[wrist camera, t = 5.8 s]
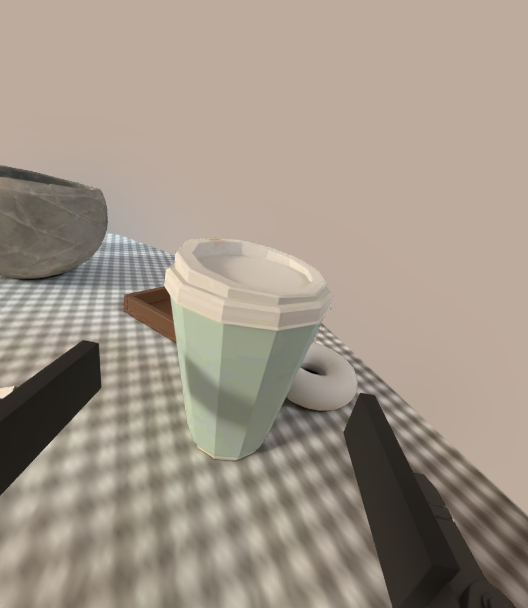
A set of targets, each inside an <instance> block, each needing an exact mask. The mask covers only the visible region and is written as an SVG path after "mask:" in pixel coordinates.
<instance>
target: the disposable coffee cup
mask: <svg viewBox="0 0 528 608" xmlns="http://www.w3.org/2000/svg"><path fill="white" fill-rule="evenodd" d="M163 285H164V287H165V288H166V290H167V291H168V293H169V294H170V297H171V305H172V312H173V320H174V327H175V335H176V342H177V350H178V357H179V365H180V372H181V380H182V387H183V395H184V402H185V410H186V418H187V425H188V427H189V430H190V432H191V435H192V437H193V440H194V442H195V444H196V445H197V447H198V448H199V449H200V450H202V451H203V452H205V453H206V454H208V455H209V456H211V457H212V458H214V459H219V460H232V461H237V460H239V459H241V458H243V457H245V456H248V455H250V454H252V453H254V452H255V451H256V450H257V449H259V448H260V446H261V444H262V443H263V441H264V440H265V438H266V437H267V435H268V433H269V432H270V430H271V427H272V425H273V423H274V421H275V419H276V417H277V415H278V413H279V411H280V409H281V406H282V404H283V402H284V400H285V398H286V396H287V394H288V392H289V390H290V387H291V385H292V383H293V381H294V379H295V377H296V375H297V373H298V371H299V369H300V366H301V364H302V362H303V360H304V358H305V356H306V354H307V352H308V350H309V347H310V345H311V343H312V341H313V339H314V337H315V335H316V333H317V331H318V329H319V326H320V324H321V322H322V320H323V318H324V317H325V316H326V315H327V313H328V312H329V311H330V310H331V301H332V297H333V295H332V293H331V291H330V290H329V289H328V287H327V283H326V282H325V280H324V279H323V277H322V276H321V274H320V273H319V271H318V270H317V269H315V268H313V267H311V266H310V265H308V264H307V263H305V262H303V261H302V260H300V259H298V258H296V257H294V256H291V255H289V254H286V253H283V252H281V251H278V250H276V249H273V248H271V247H268V246H263V245H260V244H255V243H252V242H247V241H244V240H239V239H222V238H221V239H220V238H204V239H194V240H187V241H186V242H185V243H184V244H183V245H182V246H181V247H180V248H179V250H178V251H177V252H176V253H175V262H174V263H173V264H172V265H171V266H170V267H169V268H168V269H167V270H166V275H165V282H164V283H163Z"/></svg>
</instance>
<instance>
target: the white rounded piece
mask: <svg viewBox="0 0 528 608" xmlns="http://www.w3.org/2000/svg"><path fill="white" fill-rule="evenodd" d="M13 389H14V386H11V387H5V388H0V398H2V399H3V398H4V397H5V396H7V395H8V394H10V393H11V392H12V391H13Z"/></svg>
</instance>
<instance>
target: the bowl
mask: <svg viewBox="0 0 528 608" xmlns="http://www.w3.org/2000/svg"><path fill="white" fill-rule="evenodd" d="M107 223H108V220H107V206H106V202H105V199H104V196H103V193H102V192H101V190H100V189H97V188H93V187H89V186H85V185H82V184H79V183H76V182H72V181H68V180H64V179H60V178H56V177H52V176H48V175H44V174H40V173H36V172H32V171H27V170H22V169H16V168H12V167H7V166H1V165H0V276H3V277H8V278H21V279H27V278H43V277H48V276H53V275H58V274H61V273H64V272H67V271H69V270H72V269H74V268H76V267H77V266H79V265H81V264H82V263H84V262H86V261H87V260H88V259H89V258H91V257H92V256H93V255H94V253H95V252H96V251H97V250H98V248H99V247H100V246H101V244H102V241H103V239H104V237H105V234H106V231H107Z"/></svg>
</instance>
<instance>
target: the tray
mask: <svg viewBox="0 0 528 608" xmlns="http://www.w3.org/2000/svg"><path fill="white" fill-rule="evenodd" d="M124 312H126V313H128V314H129V315H131V316H132V317H134V318H136V319H137V320H139V321H141V322H142V323H144V324H146V325H147V326H149V327H151V328H152V329H154V330H156V331H157V332H159V333H161V334H162V335H164V336H166V337H167V338H169V339H171V340H172V341H174V342H176V335H175V327H174V320H173V312H172V305H171V297H170V294H169V293H168V291H167V290H166V288H165V287H159V288H154V289H149V290H145V291H140V292H135V293H130V294H125V295H124ZM176 343H177V342H176Z"/></svg>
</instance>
